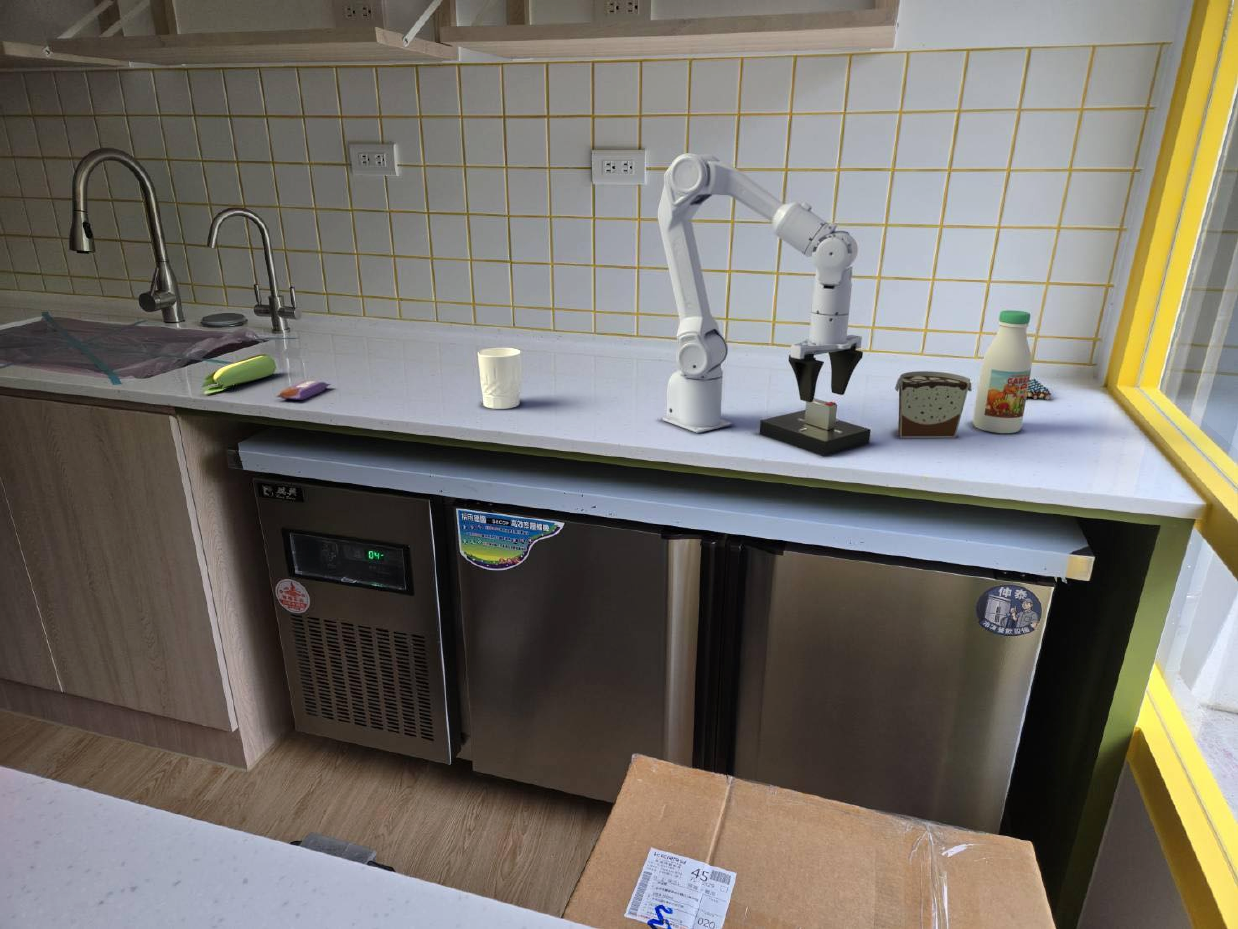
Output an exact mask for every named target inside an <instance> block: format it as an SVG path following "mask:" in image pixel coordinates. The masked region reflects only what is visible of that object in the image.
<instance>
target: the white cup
mask: <svg viewBox="0 0 1238 929" xmlns="http://www.w3.org/2000/svg"><path fill="white" fill-rule="evenodd" d="M477 360H478V362H477V363H478V371H479V372H478V373H479V379H480V380H479V382H480V388H481V389H480V390H481V392H482V394H481V395H482V402H483V403H482V404H483V406H484V407H486V409H487V408H488V409H493V410H506V409H507V410H508V409H513V408H515V407H518V406H519V405H520V393H521V392H520V390H521V375H522V351H521V350H519V349H517V348H511V347H490V348H484V349H481V350H479V351H477Z"/></svg>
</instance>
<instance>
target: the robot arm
mask: <svg viewBox="0 0 1238 929" xmlns="http://www.w3.org/2000/svg"><path fill="white" fill-rule="evenodd" d="M713 195H715V196H716V195H717V196H729V197H731V198H732V199H734V200H736V201H737V202H739V203H741V204H742V205H744V206H745V207H747V208H749V209H750V210H752V211H753V212H755V213H757V214H758V215H760V216H762V217H763V218H765V219H766V220H767V221H769V222H771V224H772V229H773V234H774V235H775V236H776V237H777V238H779V239H780V240H782V241H783V242H785V243H786V244H788V245H789V246H791V247H792V248H794V249H795V250H797V251H798V252H799V253H801V254H802V255H804V256H805V257H807V258H809V257H811V260H812V263H813V266H814V267H815V277H814V281H813V288H812V301H811V311H810V322H809V336H808V337H809V338H807V339H805V340H802V341H800V342H798V343H793V344H791V345H790V354H789V355H788V363H789V365H790V367H791V369H792V371H793V374H794V377H795V379H796V385H797V388H798V396H799V400H800V401H803V402H805V403H806V402H813V399H814V398H815V395H816V388H817V382H818V379H819V376H820V372H821V369H822V367H823V366H824V365H825V362H824V361H823V360H819V359H817V357H815V356H817V355H823V354H828V357H829V361H830V370H831V374H830V376H831V377H830V379H831V380H830V389H831V393H832V394H835V395H839V396H845V393H846V391H847V388H848V386H849V382H850V379H851V377H852V375H853V372H854V371H855V369H856V367H857V366H858V364H859V363H860V361H861V360H862V359H863V356H864V355H863V354H864V351H862V350H858V349H861V348H862V339H863V336H861V335H857V334H856V335H855V334H848V329H849V328H848V327H849V317H850V309H851V297H852V287H853V283H852V279H853V266H852V265H853V263H854V262H855V261H856V258H857V256H858V244H857V241H856V240H855V238H854V237H853V236H852V235H851V233H849V231H846V230H836V229H837V228H838V225H837V224H836V223H835V222H834V221H832V222H830V223H829V222H827V221H826V220H825V219H822V218H821V217H820V216H819V215H817V214H816V213H815V212H812V209H813V206H812V205H810V204H808V202H802V204H801V203H800V202H798V201H793V202H790V203H786V204H785V203H783V202H782V201H781V200H780V199H778V198H777V197H776V196H774V195H773V194H772V193H770V192H769V191H768V190H766V189H765V188H763V187H762V185H759V184H758V183H756V182H755V181H754V180H753V179H751V178H750V177H749V176H748V175H746V174H745V173H744V172H742V171H741V170H740V169H738V168H737V167H734V166H733V165H731V164H729V163H727V162H725V161H721V160H720V159H719V158H718V157H716V156H714V155H712V154H708V153H707V154H696V153H690V152H689V153H688V152H687V153H682V154H680V155H679V156H677V157H676V158H674V160H673V161H672V163H671V164H670V165H669V167H668V168H667V169H666V171H665V173H664V174H663V189H662V192H661V197H660V201H659V205H658V209H657V221H658V226H659V230H660V234H661V235H660V236H661V240H662V244H663V249H664V254H665V258H666V262H667V267H668V272H669V278H670V282H671V286H672V290H673V295H674V300H675V305H676V310H677V315H678V319H679V325H678V329H677V331H676V332H677V333H676V342H677V349H676V353H675V362H676V365H677V367H678V370H676V371H675V372H673V373H672V375H671V376H670V377H669V379H668V382H667V389H666V390H667V392H666V416H664V417H662V421H664V422H667V423H669V424H671V425H675V426H677V427H681V428H683V429H686V430H688V431H691V432H694V433H697V434H699V433H703V432H708V431H712V430H717V429H720V428H725V427H729V426H731V425H732V422H731V421H728V420H725V419H722V418H721V417H722V400H723V398H722V396H723V380H724V378H723V377H724V371H723V369H722V364H723V363H724V362H725V361H726V358H727V357H728V353H729V346H728V343H727V340H726V339H725V337H724V336H723V335H722V333H721V331H720V329H719V324H718V322H717V320H716V319H715V317H714V316H713V314H712V313H711V309H710V303H709V300H708V299H709V298H708V294H707V290H706V285H705V284H706V283H705V280H704V275H703V269H702V264H701V259H700V256H699V251H698V246H697V241H696V236H695V231H694V227H693V222H692V220H693V218H694V216H695V215H696V213H697V212H698V211H699V209H700V208H701V206H702V205H703V203H705V201H707V200H708V199H710V198H711V197H712V196H713Z"/></svg>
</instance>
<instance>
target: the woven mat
mask: <svg viewBox="0 0 1238 929" xmlns="http://www.w3.org/2000/svg"><path fill="white" fill-rule="evenodd" d="M1050 391H1051V390H1049V388H1047V387H1046V386H1044V384H1042V383H1041V382H1039V381H1038V380H1036V378H1033V379H1032V378H1030V380H1029V386H1028V392H1027V397H1026V398H1033V400H1036V399H1043V398H1044V399H1045V400H1050V396H1052V393H1051V392H1050Z"/></svg>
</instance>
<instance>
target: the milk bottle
mask: <svg viewBox="0 0 1238 929" xmlns="http://www.w3.org/2000/svg"><path fill="white" fill-rule="evenodd" d="M1030 320H1031V313H1030V312H1027V311H1023V310H1014V309H1013V310H1002V311H1000V313H999V316H998V323H997V324H998V325H999V326H998V331H997V332H996V335H995V337H994V338H993V340H992V342H991V343H990V345H989V346H988V348H987V349H986V351H985V354H984V356H983V359H982V363H981V367H980V368H981V369H980V372H979V380H978V386H977V392H976V397H975V403H974V404H975V405H974V412H973V416H972V417H973V418H972V424H973V426H974V427H975V428H976V429H979V430H982V431H986V432H990V433H997V434H1014V433H1018V432H1019V431H1020V430H1021V429H1022V424H1023V420H1024V413H1025V409H1026V402H1027V398H1028V397H1027V392H1028V386H1029V380H1030V379H1031V374H1032V373H1031V372H1032V365H1033V364H1032V362H1033V361H1032V360H1033V359H1032V353H1031V349H1030V345H1029V342H1028V336H1027V329H1028V327H1029V326H1030V325H1029V324H1030Z"/></svg>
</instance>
